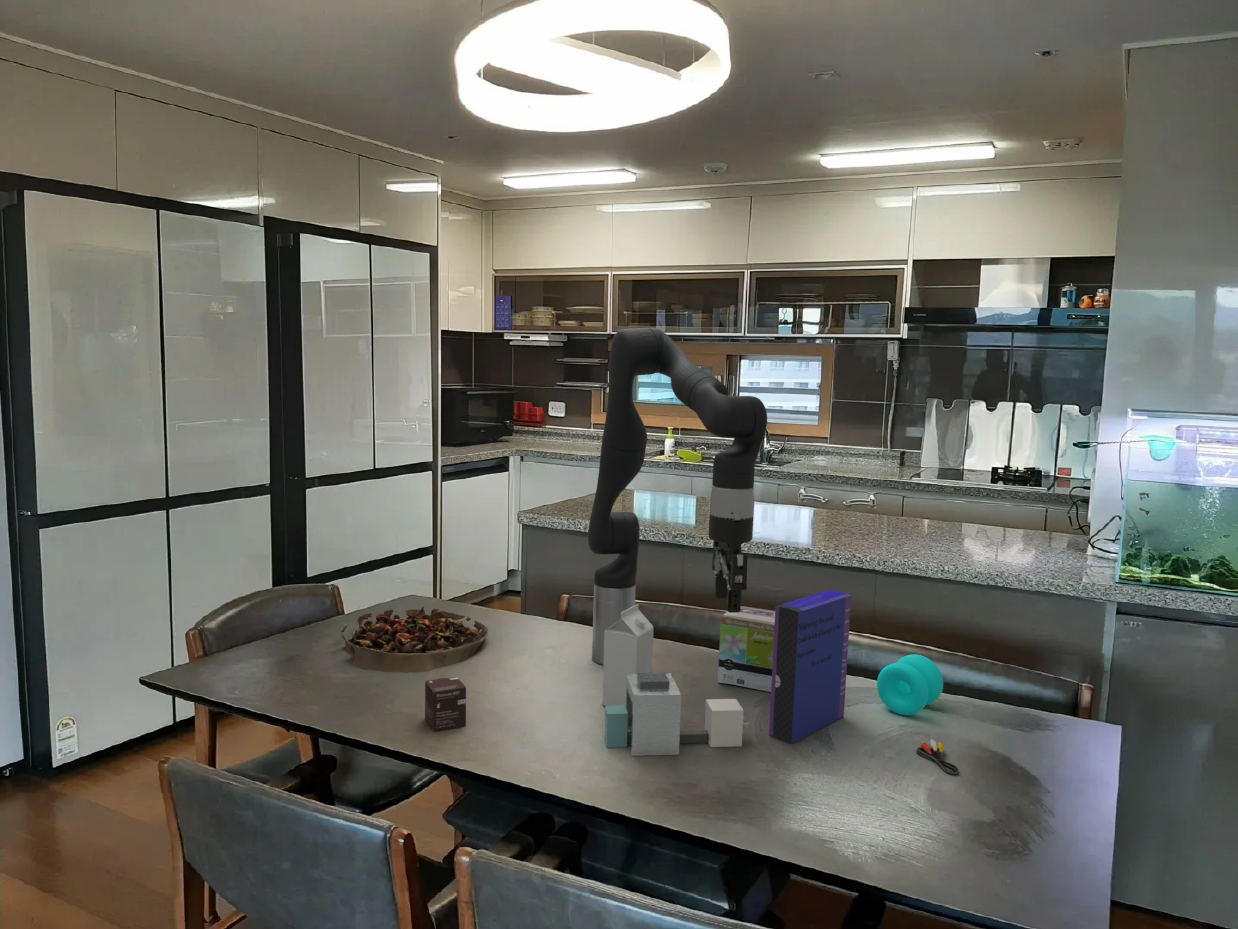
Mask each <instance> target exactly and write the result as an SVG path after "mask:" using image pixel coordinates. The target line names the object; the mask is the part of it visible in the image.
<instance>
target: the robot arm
mask: <svg viewBox="0 0 1238 929" xmlns="http://www.w3.org/2000/svg"><path fill="white" fill-rule="evenodd" d="M609 352H610V353H609V368H608V369H609V370H608V372H609V373H608V391H607V392H608V394H607V402H606V403H607V405H606V406H607V407H606V412H605V421H604V427H603V434H602V439H601V446H600V458H599V468H598V476H597V483H596V490H595V495H594V498H593V502H592V503H593V504H592V509H591V513H590V517H589V523H588V531H587V539H588V540H587V541H588V542H587V543H588V548H589V549H590V551H591V552H592V553H593V554H595V555H618V556H617V558H615V559H614V560H613V561H611V562H609V563H608V564H606V565H603V566H601V567H598V568H597V569H596V571H595V572H594V576H593V610H592V611H593V614H592V615H593V616H592V641H591V642H592V643H591V646H592V648H591V658H592V659H591V660H592V661H593V662H595V663H598V664H599V665H603V666H604V632H605V630H606V629H607V628H608V627H610V626H611V625H612V624H614V623H615V622H616V621H618V620H619V619H620V618H621V612H623V611H625V610H627V609H629V608H631V607H633V606H635V605H636V586H637V585H636V581H637V572H638V559H639V558H638V557H639V547H640V545H639V544H640V534H641V532H640V530H641V529H640V523H639V519H638V516H637V514H635V513H634V512H631V511H612V510H613V508H614V505H615V503H616V501H617V500H618V498H619V497H620V495H621V494H622V492H624V491H625V489H626V488H627V487H628V486H629V485H630V483H632V481H633V480H634V479H635V478H636V476H637V475H638V474H639V473H640V472H641V469H642V467H643V465H644V461H645V456H646V450H647V442H648V434H647V432H648V431H647V429H646V426H645V423H644V422H643V420H642V418H641V416H640V414H639V412H638V410H637V408H636V405H635V403H634V398H633V386H634V378H635V377H636V376H647V375H648V376H649V375H655V374H661V375H663V376H666V377H668V378H670V385H671V389H672V392H673V394H674V396H675V397H676V399H677V400H679V401H680V402H681V403H682V404H683V405H685V406H686V407H687V408H688V409H690V410H692V411H693V412H694V413H695V414H696V415H697V417H698V419H699V420H700V422H701V423H702V424H703V426H704V428H705V429H706V430H707V431H708V432H709V433H710V434H711V435H714V436H716V437H718V438H723V439H724V438H725V439H726V438H733V440H732V444H731V446H730V447H729V448H727V449H726V450H725V449H724V450H722V451H719V452H718V453H716V454H715V455H714V457H713V464H712V465H713V466H712V479H711V481H712V484H711V485H712V486H711V491H710V498H709V516H708V517H709V520H708V538H709V539H710V540H711V541H713V544H712V546H713V547H712V563H711V569H712V571H713V575H714V577H715V583H714V597H715V598H717V599H727V600H726V612H727V611H728V612H730V613H738V612H740V608H741V606H742V605H741V604H742V592H743V591H746V590H747V587H748V585H747V584H748V579H747V578H748V558H749V557H748V554H746V553H744V552H743V551H742V545H743V544H744V543H745V544H747V543H750V542H751V541H752V540H753V538H754V537H753V535H754V533H753V532H754V520H755V519H754V517H755V516H754V514H755V494H754V491H755V490H754V486H755V466H756V461H757V458H758V457H759V453H760V449H761V448H762V447H761V446H762V444H763V440H764V437H765V433H766V432H767V431H766V430H767V426H768V425H767V424H768V413H767V409H766V405H765V404H764V403H763V401H762V400H761V399H760V398H758V397H756V396H753V395H730V394H729V393H730V392H729V390H728V388H727V386H726V385H725V384H724V383H723V382H722V381H720V380H719V379H718V378H717V377H715V376H713V375H712V374H711V373H708V372H707V371H706V370H704V369H702V368H701V367H699V365H697V364H696V363H695V362H694V361H693V360H691V359H690V357H689V356H688V355H687V354H686V353H685V352H684V351H683V350H682V349H681V348H680V347H679V346H678V345H677V343H676V342H675V341H674V340H673V339H672V338H671V337H670V336H669V335H668V334H667V333H666V332H665V331H663V330H662V329H659V328H657V327H639V328H636V327H635V328H633V327H631V328H623V329H619V330H618V331H617V332H616V333H615V334H614V336H613V338H612V341H611V346H610V350H609ZM736 579H737V582H736Z"/></svg>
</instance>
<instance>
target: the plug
mask: <svg viewBox="0 0 1238 929" xmlns="http://www.w3.org/2000/svg"><path fill="white" fill-rule="evenodd" d="M604 707H605V710H604V742H605V747H606V748H607V749H608V748H609V749H610V748H612V749H613V748H627V747H628V745H630V746H631V736H632V732H627V726H628V712H627V709H626V706H625V705H617V706H604ZM704 710H705V711H704V729H695V730H693V729H691V730H686V729H685V730H680V739H679V744H706V743H708V745H709V747H710V748H721V747H722V748H725V747H727V748H729V747H730V748H731V747H733V748H734V747H743V731H744V730H743V729H744V728H750V727H751V726H750V722H747V717H746V716H744V709H743V707H742V706H741V704H740V703H739V702H738V699H737V698H711V699H709V698H707V699H705V709H704Z"/></svg>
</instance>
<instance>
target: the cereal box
mask: <svg viewBox="0 0 1238 929" xmlns="http://www.w3.org/2000/svg"><path fill="white" fill-rule="evenodd" d="M851 605H852V595H851V594H848V593H846V592H843V591H839V590H831V589H827V590H824V591H820V592H818V593H814V594H811V595H808V596H804V597H801V598H797V599H795V600H791V601H788V602H784V603H781V604H777V605H775V608H774V609H775V610H774V611H775V627H774V646H773V666H772V685H771V692H770V709H769V726H768V736H769V737H771V738H774V739H777V740H779V741H781V742H783V743H785V744H786V743H787V744H788V745H791V746H792V745H793V744H796V743H798V742H799V741H801V740H803V739H806V738H807V737H809V736H811V735H812V734H815V733H817V732H820V731H821V730H823V729H825V728H826V727H828V726H830V725H832V724H834V723H836V722H838V721H840V720H842V719H844V718H845V715H844V714H845V704H846V702H845V701H846V700H845V699H846V688H847V687H846V685H847V683H846V682H847V671H848V668H847V667H848V653H849V652H848V651H849V639H850V638H849V636H850V621H851V620H850V619H851Z"/></svg>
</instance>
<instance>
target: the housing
mask: <svg viewBox="0 0 1238 929" xmlns="http://www.w3.org/2000/svg"><path fill="white" fill-rule="evenodd" d="M625 706H626V709H627V712H628V726H627V732H632V736H631V745H630V754H631V756H632V757H638V756H641V757H642V756H645V757H646V756H674V755H675V756H678V755H680V743H679V739H680V731H681V712H682V710H681V709H682V693H681V691H680V690H679V687H678V686H677V682H676V681H675V679H674V677H673V676H672V673H671V672H668V673H666V672H652V673H637V674H626V699H625Z"/></svg>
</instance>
